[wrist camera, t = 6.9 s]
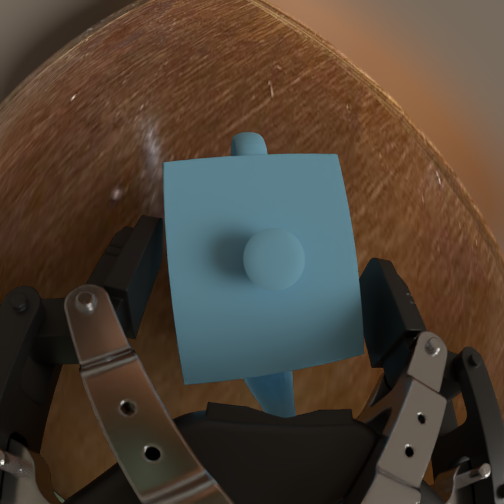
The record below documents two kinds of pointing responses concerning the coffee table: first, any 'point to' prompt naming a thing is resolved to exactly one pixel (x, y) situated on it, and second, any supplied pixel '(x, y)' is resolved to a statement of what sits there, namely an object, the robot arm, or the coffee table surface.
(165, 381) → the coffee table surface
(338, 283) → the teapot
